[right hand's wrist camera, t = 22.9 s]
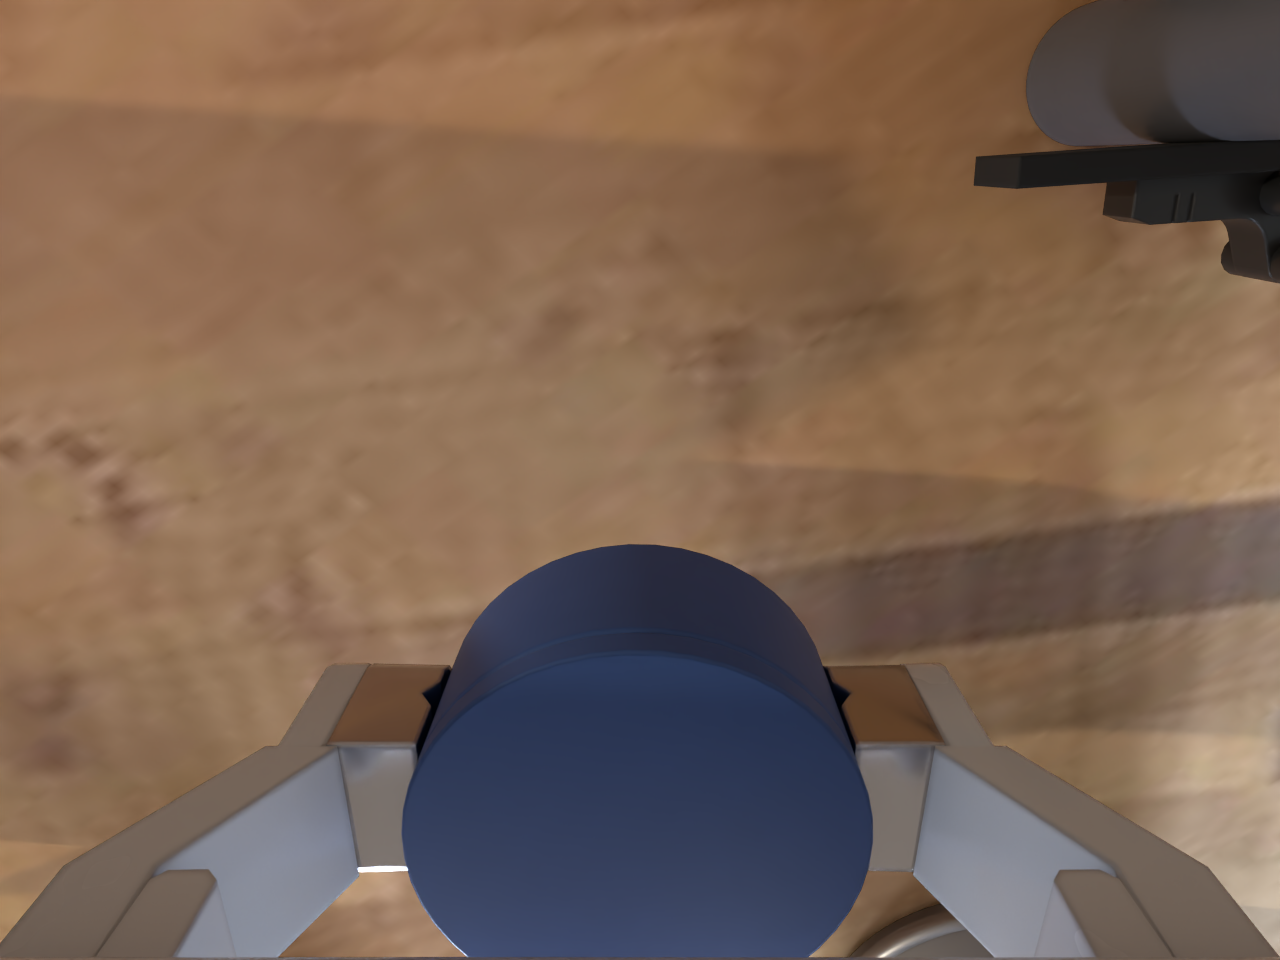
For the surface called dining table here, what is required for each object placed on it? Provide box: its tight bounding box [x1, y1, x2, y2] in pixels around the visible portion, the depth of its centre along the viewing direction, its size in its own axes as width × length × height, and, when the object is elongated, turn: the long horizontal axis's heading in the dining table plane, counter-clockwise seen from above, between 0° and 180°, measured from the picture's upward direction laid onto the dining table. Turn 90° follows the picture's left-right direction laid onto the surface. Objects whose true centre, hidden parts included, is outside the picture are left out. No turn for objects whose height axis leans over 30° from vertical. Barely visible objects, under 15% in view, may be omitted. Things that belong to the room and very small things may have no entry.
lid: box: [401, 544, 873, 957], centre depth 9 cm, size 5×5×2 cm
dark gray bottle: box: [1026, 0, 1280, 146], centre depth 19 cm, size 4×4×16 cm
